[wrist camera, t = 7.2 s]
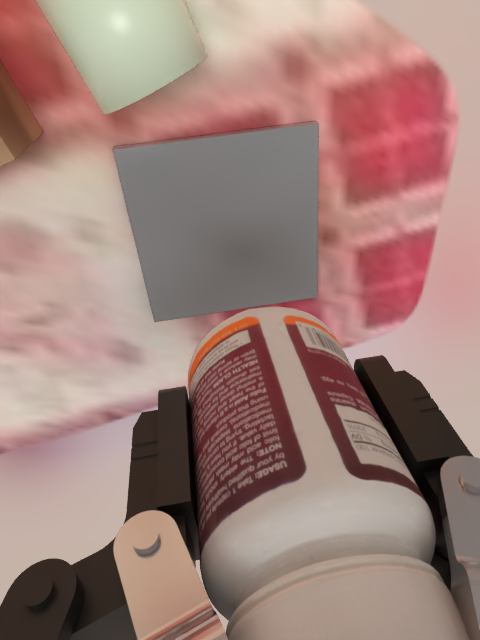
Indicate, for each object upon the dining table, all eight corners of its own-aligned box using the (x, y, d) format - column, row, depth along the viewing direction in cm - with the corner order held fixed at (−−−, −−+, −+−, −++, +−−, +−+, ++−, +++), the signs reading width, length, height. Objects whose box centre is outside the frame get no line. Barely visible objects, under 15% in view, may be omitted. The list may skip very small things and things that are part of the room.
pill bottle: (196, 431, 15) (222, 782, 8) (177, 312, 12) (190, 684, 5) (335, 411, 15) (471, 730, 8) (345, 291, 13) (557, 616, 6)
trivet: (114, 146, 20) (112, 149, 19) (314, 120, 20) (318, 123, 20) (154, 316, 25) (154, 322, 24) (314, 291, 25) (317, 297, 25)
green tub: (102, 108, 19) (37, 0, 16) (194, 54, 18) (142, -62, 16) (104, 120, 15) (21, -17, 13) (219, 53, 15) (156, -96, 13)
